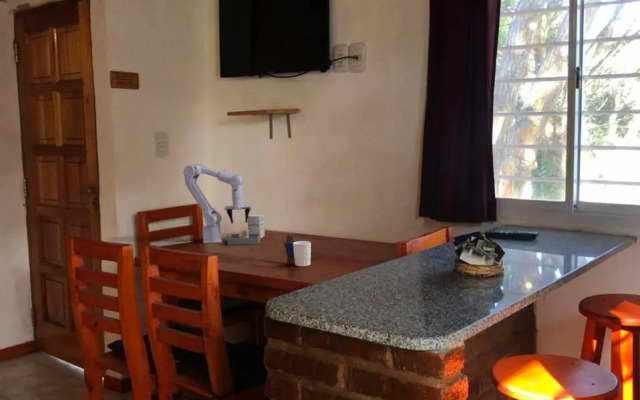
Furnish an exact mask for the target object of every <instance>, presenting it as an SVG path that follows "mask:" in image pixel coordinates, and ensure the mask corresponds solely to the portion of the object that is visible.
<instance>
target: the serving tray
mask: <svg viewBox="0 0 640 400" xmlns="http://www.w3.org/2000/svg"><path fill="white" fill-rule="evenodd" d="M261 239H262V238H261V235H260V233H254V234H249V238H239V233H232V234H230V235H229V236H228V237H227V246H249V245H252V246H253V245H259V244H260V242H261Z"/></svg>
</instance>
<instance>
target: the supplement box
mask: <svg viewBox="0 0 640 400" xmlns="http://www.w3.org/2000/svg"><path fill="white" fill-rule="evenodd" d="M265 229H266V228H265V214H263V213H262V214H258V213H252V214H249V215H248V219H247V230H248V233H249V234H254V233H260V235H261V239H262V238H263V237H265V235H266V234H265V232H266V231H265Z"/></svg>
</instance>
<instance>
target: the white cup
mask: <svg viewBox="0 0 640 400" xmlns="http://www.w3.org/2000/svg"><path fill="white" fill-rule="evenodd" d="M292 246H293V255H294V265H295V266H297V267H307V266H310V265H311V257H312V255H311V253H312V248H311V247H312V242H311V241H309V240H299V241H294V242H292Z"/></svg>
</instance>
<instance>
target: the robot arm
mask: <svg viewBox="0 0 640 400" xmlns="http://www.w3.org/2000/svg"><path fill="white" fill-rule="evenodd" d="M182 174H183V176H184V183H185V186H186V188H187V190H188V191H189V193H190V194H191V196H192V197H193V198H194V200H195V202H196V203H197V204H198V207H199V208H200V209H201V212H202V217H203V218H204V223H205V225H204V226H202V242H203V244H212V243H213V244H217V243H219V244H220V243H222V242H223V240H224V239H223V238H222V235H221V233H222V232H221V221H222V215H221V213H220V212H218V211H217V210H216V209H215V208H214V207H212V206H211V204H210V202H209V200H208V199H207V197H206V196H205V194H204V193H203V191H202V190H201V188H200V186H199V185H198V184H197V180H198V178H199V177H200V175H202V174H204V175H207V176H210V177H213V178H216V179H217V181H219V182H222V183H225V184H228V185H230V186H231V198H232V199H231V201H232V205H226V206H224V207H223V208H224V211H226V213H227V216H228V217H229V220H230V224H233V223H234V219H233V210H235V211H236V210H244V216H245V217H244V218H245V221H244V222H245V223H247V224H248V216H249V215H250V211H251V210H253V206H252V205H253V204H244V196H243V193H244V192H243V183H244V178H243V176H242V175H240V174H235V173H233V172H229V171H228V172H227V170H226V169H224V170H220V171H217V170H216V169H212V168H210V167H207V166H205V165H203V164H198V163H194V164H188V165H186V166H185V167H184V169H183V172H182Z"/></svg>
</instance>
